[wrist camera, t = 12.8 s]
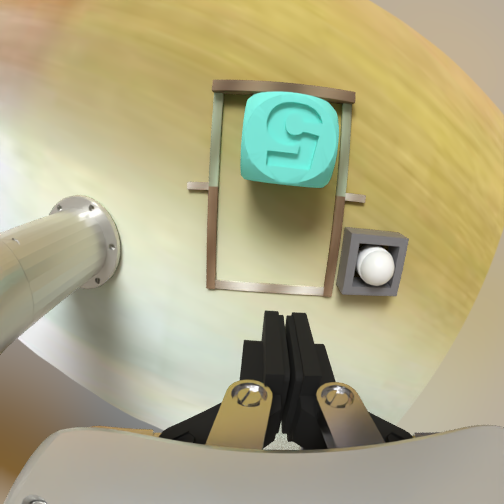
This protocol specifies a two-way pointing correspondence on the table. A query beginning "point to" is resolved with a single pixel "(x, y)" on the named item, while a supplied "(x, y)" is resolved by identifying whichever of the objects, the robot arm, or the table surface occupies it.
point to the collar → (349, 258)
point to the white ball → (374, 264)
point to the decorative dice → (289, 139)
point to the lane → (212, 186)
